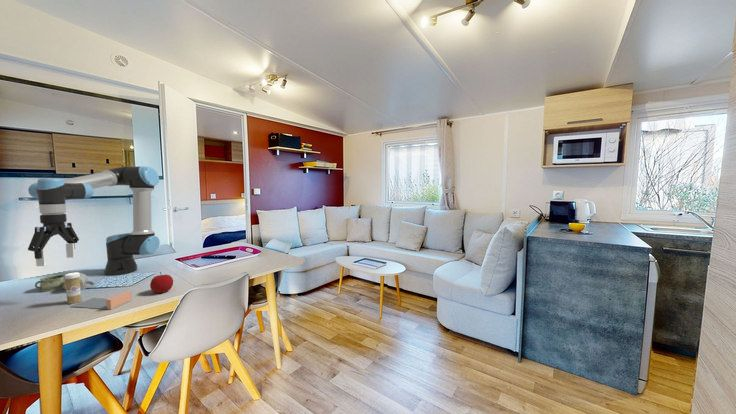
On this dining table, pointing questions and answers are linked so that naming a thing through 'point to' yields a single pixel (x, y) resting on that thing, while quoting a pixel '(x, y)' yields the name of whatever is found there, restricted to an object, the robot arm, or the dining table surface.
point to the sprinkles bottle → (73, 287)
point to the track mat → (105, 302)
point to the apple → (161, 283)
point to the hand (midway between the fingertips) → (56, 261)
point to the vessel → (51, 283)
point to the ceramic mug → (82, 282)
